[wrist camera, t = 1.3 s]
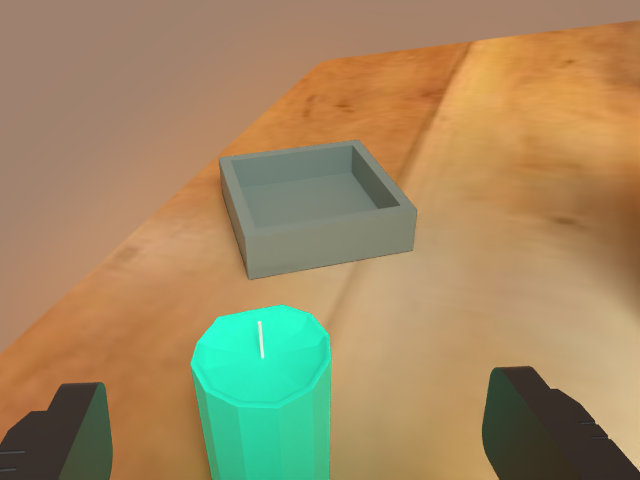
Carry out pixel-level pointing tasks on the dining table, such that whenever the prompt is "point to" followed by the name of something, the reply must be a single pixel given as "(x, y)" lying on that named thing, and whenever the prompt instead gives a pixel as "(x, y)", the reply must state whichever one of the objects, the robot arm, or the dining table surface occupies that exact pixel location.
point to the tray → (314, 208)
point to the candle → (265, 395)
